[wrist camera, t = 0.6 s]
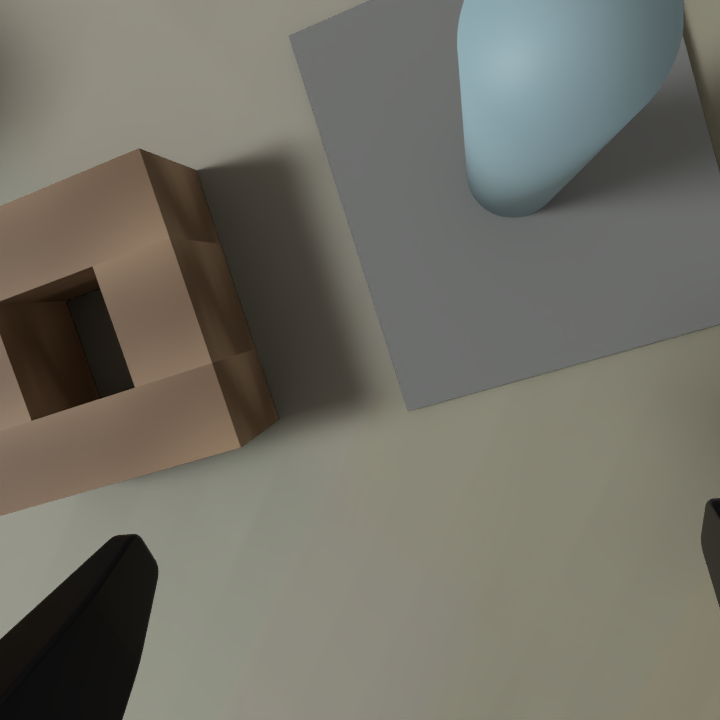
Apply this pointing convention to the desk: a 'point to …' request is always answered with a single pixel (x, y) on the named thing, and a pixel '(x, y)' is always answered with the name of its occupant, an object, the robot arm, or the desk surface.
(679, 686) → the desk surface
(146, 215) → the hole block
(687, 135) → the mat
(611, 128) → the peg
